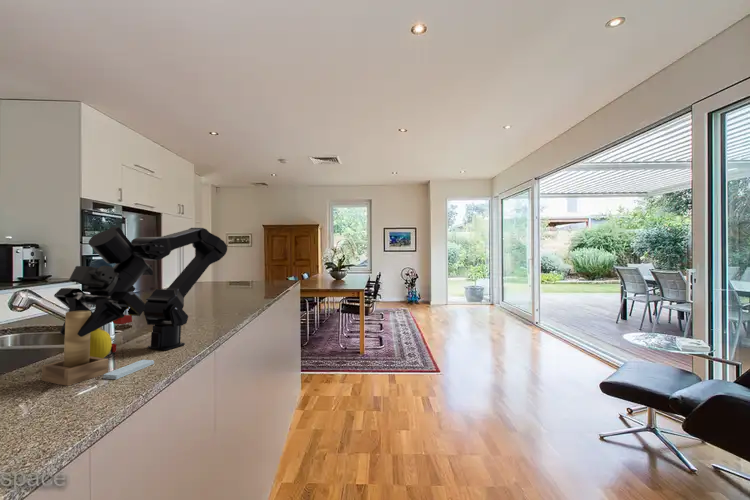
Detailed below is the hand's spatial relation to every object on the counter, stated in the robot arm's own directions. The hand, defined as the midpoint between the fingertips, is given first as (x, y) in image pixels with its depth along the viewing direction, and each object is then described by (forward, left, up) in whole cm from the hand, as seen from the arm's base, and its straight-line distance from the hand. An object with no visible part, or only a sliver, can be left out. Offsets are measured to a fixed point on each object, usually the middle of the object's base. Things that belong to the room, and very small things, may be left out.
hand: (70, 334), depth 69 cm
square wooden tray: (-1, 0, -9) cm, 9 cm away
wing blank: (-8, +6, -9) cm, 14 cm away
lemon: (-9, -6, -9) cm, 14 cm away
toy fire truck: (-13, -11, -9) cm, 19 cm away
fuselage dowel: (-1, 0, -7) cm, 7 cm away
